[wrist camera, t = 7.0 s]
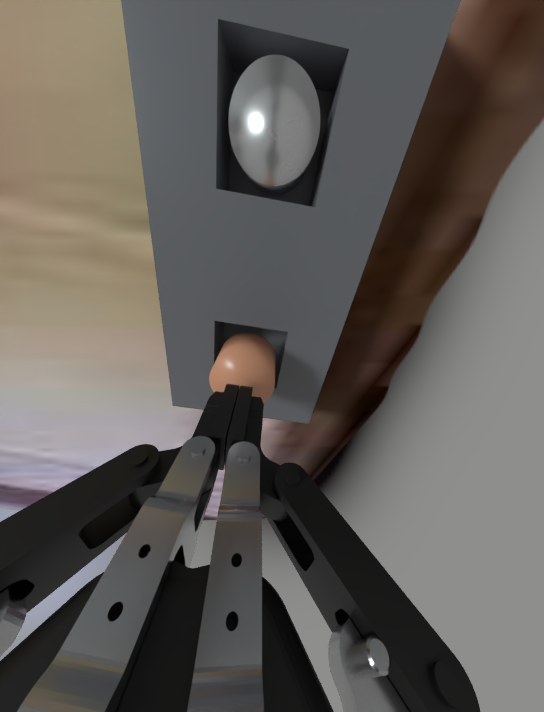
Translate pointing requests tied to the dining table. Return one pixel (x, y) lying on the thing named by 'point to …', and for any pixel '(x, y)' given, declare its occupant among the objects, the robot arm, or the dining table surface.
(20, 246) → the dining table surface
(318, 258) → the button panel
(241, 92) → the steel button
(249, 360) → the terracotta button
